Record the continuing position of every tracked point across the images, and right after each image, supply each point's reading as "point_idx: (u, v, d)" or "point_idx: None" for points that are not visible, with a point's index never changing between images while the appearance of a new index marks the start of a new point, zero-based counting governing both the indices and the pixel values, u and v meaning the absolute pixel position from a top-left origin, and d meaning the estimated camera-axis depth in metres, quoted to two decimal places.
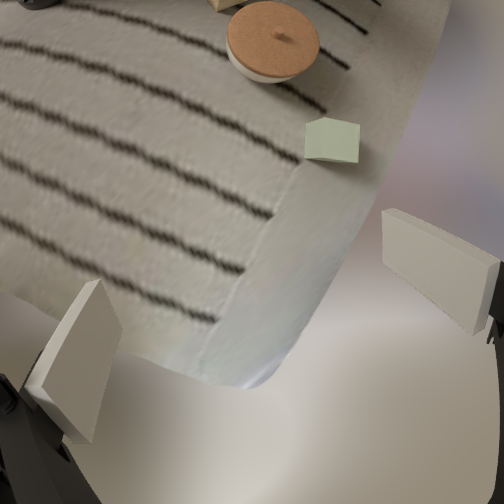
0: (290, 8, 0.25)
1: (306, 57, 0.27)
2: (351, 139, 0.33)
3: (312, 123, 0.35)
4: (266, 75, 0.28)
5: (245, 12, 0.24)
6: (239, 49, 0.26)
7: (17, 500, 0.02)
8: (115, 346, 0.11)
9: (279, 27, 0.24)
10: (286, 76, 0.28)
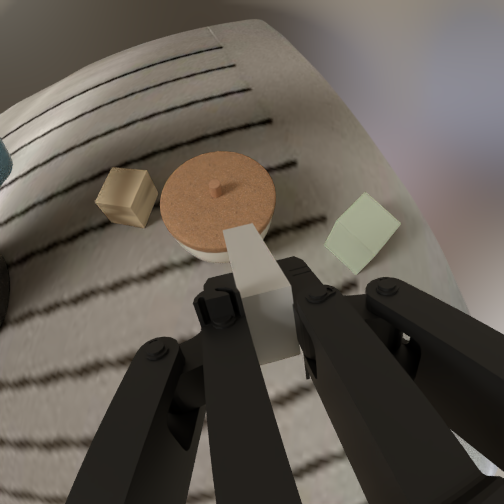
0: (199, 157, 0.28)
1: (263, 185, 0.26)
2: (375, 211, 0.28)
3: (330, 238, 0.31)
4: None
5: (167, 200, 0.26)
6: (201, 240, 0.24)
7: (209, 425, 0.05)
8: None
9: (211, 181, 0.25)
10: (268, 221, 0.26)
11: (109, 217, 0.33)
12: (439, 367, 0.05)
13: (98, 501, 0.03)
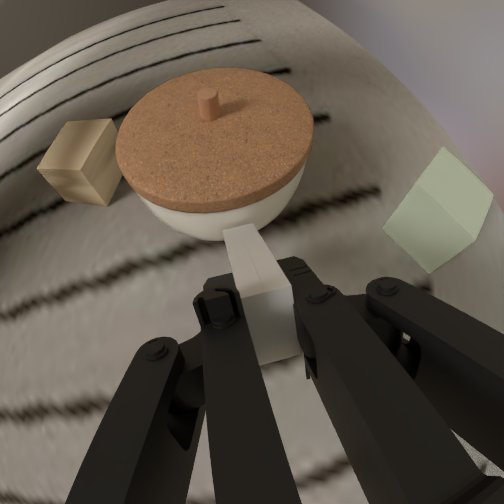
0: (186, 75, 0.16)
1: (291, 105, 0.14)
2: (461, 174, 0.15)
3: (395, 217, 0.18)
4: (274, 187, 0.13)
5: (128, 130, 0.14)
6: (177, 187, 0.12)
7: (209, 425, 0.05)
8: None
9: (201, 91, 0.13)
10: (304, 157, 0.13)
11: (60, 192, 0.20)
12: (439, 367, 0.05)
13: (98, 501, 0.03)
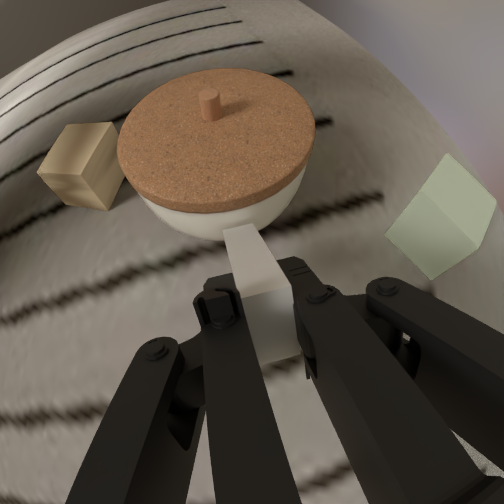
0: (189, 75, 0.16)
1: (293, 106, 0.14)
2: (465, 181, 0.15)
3: (399, 223, 0.18)
4: (275, 188, 0.13)
5: (130, 129, 0.14)
6: (178, 187, 0.12)
7: (209, 425, 0.05)
8: None
9: (203, 91, 0.13)
10: (305, 159, 0.13)
11: (60, 196, 0.20)
12: (439, 367, 0.05)
13: (98, 501, 0.03)
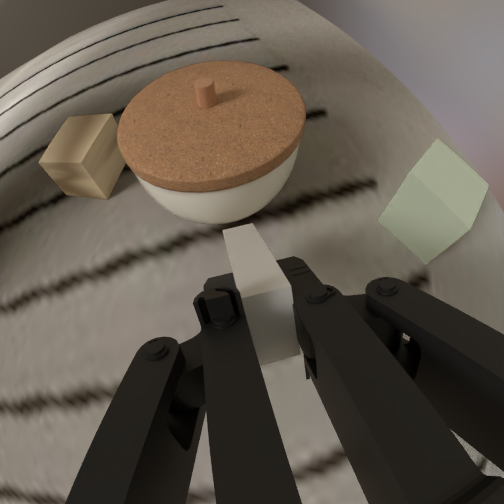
0: (186, 68, 0.16)
1: (284, 94, 0.15)
2: (456, 165, 0.15)
3: (391, 207, 0.18)
4: (266, 168, 0.13)
5: (129, 117, 0.14)
6: (174, 167, 0.13)
7: (209, 425, 0.05)
8: None
9: (199, 80, 0.13)
10: (295, 141, 0.14)
11: (61, 186, 0.21)
12: (439, 367, 0.05)
13: (98, 501, 0.03)
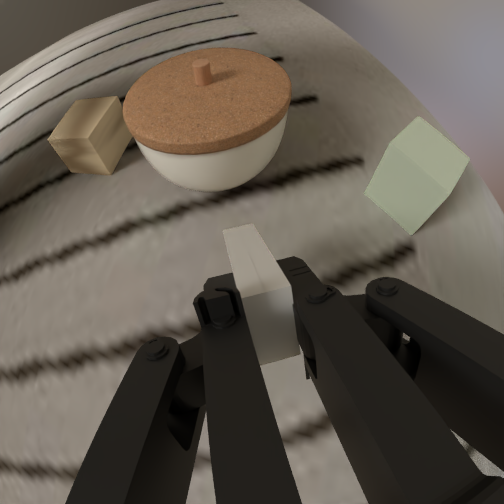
0: (186, 54, 0.17)
1: (272, 74, 0.16)
2: (436, 139, 0.16)
3: (375, 179, 0.19)
4: (254, 133, 0.14)
5: (134, 94, 0.16)
6: (172, 132, 0.14)
7: (209, 425, 0.05)
8: None
9: (196, 61, 0.14)
10: (281, 112, 0.15)
11: (67, 163, 0.22)
12: (439, 367, 0.05)
13: (98, 501, 0.03)
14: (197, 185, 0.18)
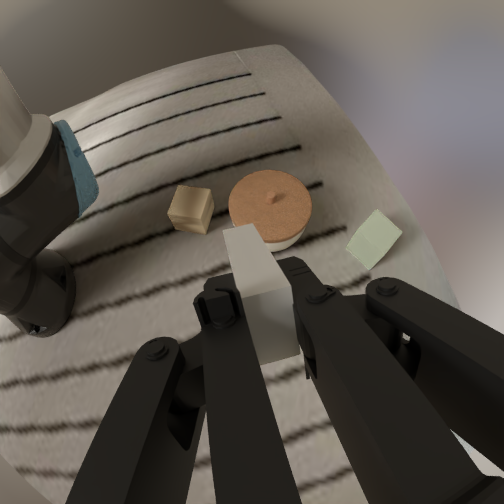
0: (255, 174, 0.39)
1: (303, 196, 0.37)
2: (383, 223, 0.38)
3: (350, 243, 0.41)
4: (296, 234, 0.36)
5: (234, 204, 0.37)
6: (262, 233, 0.35)
7: (209, 425, 0.05)
8: None
9: (268, 193, 0.36)
10: (307, 222, 0.36)
11: (175, 225, 0.43)
12: (439, 367, 0.05)
13: (98, 501, 0.03)
14: None
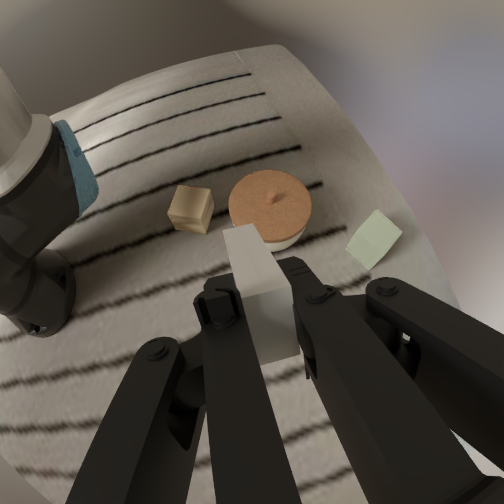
0: (255, 174, 0.39)
1: (303, 196, 0.37)
2: (383, 223, 0.38)
3: (350, 243, 0.41)
4: (296, 234, 0.36)
5: (234, 204, 0.37)
6: (262, 233, 0.35)
7: (209, 425, 0.05)
8: None
9: (268, 193, 0.36)
10: (307, 221, 0.36)
11: (175, 225, 0.43)
12: (439, 367, 0.05)
13: (98, 501, 0.03)
14: None
